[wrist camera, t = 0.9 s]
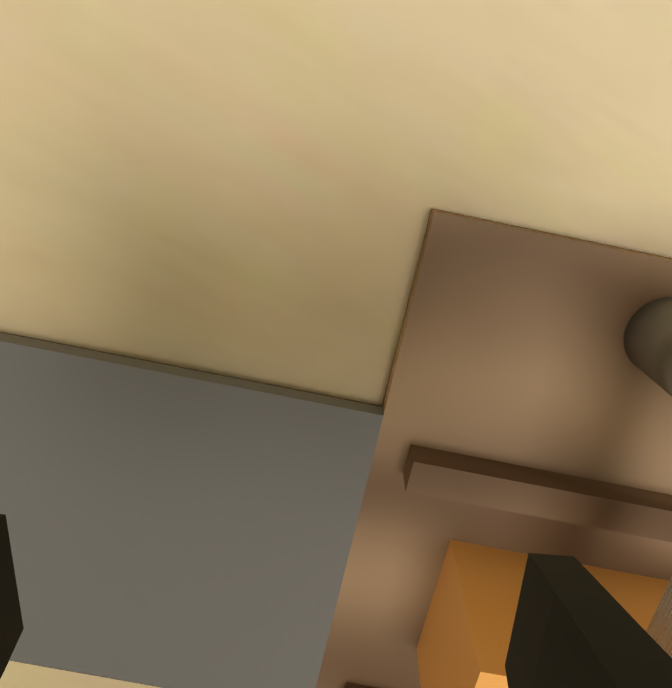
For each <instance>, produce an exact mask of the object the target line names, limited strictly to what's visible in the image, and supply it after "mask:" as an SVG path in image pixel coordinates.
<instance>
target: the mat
mask: <svg viewBox="0 0 672 688" xmlns="http://www.w3.org/2000/svg"><path fill="white" fill-rule="evenodd" d="M382 419H383V407H381V406H375V405H370V404H365V403H360V402H355V401H350V400H345V399H340V398H334V397H329V396H324V395H319V394H314V393H309V392H304V391H299V390H294V389H288V388H283V387H278V386H273V385H268V384H263V383H258V382H253V381H247V380H242V379H237V378H232V377H227V376H222V375H217V374H212V373H206V372H201V371H196V370H191V369H186V368H181V367H176V366H171V365H166V364H160V363H155V362H150V361H145V360H140V359H135V358H130V357H125V356H119V355H114V354H109V353H104V352H99V351H94V350H89V349H84V348H78V347H73V346H68V345H63V344H58V343H53V342H48V341H43V340H37V339H32V338H27V337H22V336H17V335H12V334H7V333H2V332H0V514H6V520H7V526H8V532H9V539H10V545H11V551H12V558H13V564H14V570H15V577H16V583H17V589H18V596H19V602H20V608H21V615H22V621H23V627H24V629H23V631H22V634H21V636H20V638H19V640H18V642H17V644H16V647H15V649H14V651H13V653H12V655H11V657H10V660H9V661H15V662H21V663H26V664H32V665H38V666H43V667H49V668H55V669H60V670H66V671H72V672H77V673H83V674H89V675H94V676H100V677H106V678H111V679H117V680H123V681H128V682H134V683H140V684H145V685H151V686H157V687H162V688H316V684H317V680H318V676H319V672H320V668H321V664H322V660H323V656H324V652H325V648H326V644H327V640H328V636H329V632H330V628H331V624H332V620H333V616H334V612H335V608H336V604H337V600H338V596H339V592H340V588H341V584H342V580H343V576H344V572H345V568H346V564H347V560H348V556H349V552H350V548H351V544H352V540H353V536H354V532H355V528H356V524H357V520H358V516H359V512H360V508H361V504H362V500H363V496H364V492H365V488H366V484H367V480H368V476H369V472H370V468H371V464H372V460H373V456H374V452H375V448H376V444H377V440H378V436H379V432H380V428H381V423H382Z"/></svg>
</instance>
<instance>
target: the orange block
mask: <svg viewBox="0 0 672 688" xmlns="http://www.w3.org/2000/svg"><path fill="white" fill-rule="evenodd" d="M527 558H528V554H525V553H520V552H514V551H509V550H504V549H498V548H493V547H488V546H482V545H477V544H472V543H466V542H461V541H456V540H451V539H450V543H449V546H448V549H447V552H446V555H445V559H444V562H443V565H442V568H441V571H440V575H439V578H438V581H437V584H436V587H435V591H434V594H433V597H432V600H431V603H430V606H429V610H428V613H427V616H426V619H425V622H424V626H423V629H422V632H421V635H420V638H419V642H418V645H417V648H416V650H417V658H418V667H419V676H420V685H421V688H508V683H507V676H506V670H505V662H506V657H507V652H508V648H509V643H510V638H511V633H512V629H513V624H514V619H515V614H516V610H517V605H518V600H519V595H520V591H521V586H522V581H523V576H524V572H525V567H526V562H527ZM582 565H583V564H582ZM583 566H584V567H585V568H586V569H587V570H588V571H589V572H590V573H591V574H592V575H593V576H594V578H595V579H596V580H597V581H598V582H599V583H600V584H601V585H602V586H603V587H604V588H605V589H606V590H607V591H608V592H609V593H610V594H611V595H612V596H613V597H614V599H615V600H616V601H617V602H618V603H619V604H620V605H621V606H622V607H623V608H624V609H625V610H626V611H627V612H628V613H629V614H630V615H631V616H632V617H633V618H634V620H635V621H636V622H637V623H638V624H639V625H640V626H641V627H642V628H643V629H644V630H645V631H646V630H647V628H648V626H649V623H650V621H651V619H652V617H653V615H654V613H655V611H656V609H657V606H658V604H659V602H660V600H661V598H662V596H663V594H664V591H665V589H666V587H667V585H668V583H669V581H668V580H663V579H658V578H652V577H647V576H642V575H636V574H631V573H626V572H620V571H615V570H610V569H605V568H599V567H594V566H589V565H583Z"/></svg>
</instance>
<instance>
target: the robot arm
mask: <svg viewBox="0 0 672 688" xmlns="http://www.w3.org/2000/svg"><path fill="white" fill-rule="evenodd" d="M23 629H24V627H23V621H22V615H21V608H20V602H19V596H18V589H17V583H16V577H15V570H14V564H13V558H12V551H11V545H10V539H9V532H8V526H7V520H6V514H0V678H1V676H2V674H3V672H4V670H5V668H6V666H7V664H8V662H9V660H10V657H11V655H12V653H13V651H14V649H15V647H16V644H17V642H18V640H19V638H20V636H21V634H22V631H23ZM505 670H506V676H507V683H508V688H672V658H671V657H670V656H669V655H668V654H667V653H666V652H665V651H664V650H663V649H662V648H661V647H660V645H659V644H658V643H657V642H656V641H655V640H654V639H653V638H652V637H651V636H650V635H649V634H648V633H647V632H646V631H645V630H644V629H643V628H642V627H641V626H640V625H639V624H638V623H637V622H636V621H635V620H634V618H633V617H632V616H631V615H630V614H629V613H628V612H627V611H626V610H625V609H624V608H623V607H622V606H621V605H620V604H619V603H618V602H617V601H616V600H615V599H614V597H613V596H612V595H611V594H610V593H609V592H608V591H607V590H606V589H605V588H604V587H603V586H602V585H601V584H600V583H599V582H598V581H597V580H596V579H595V578H594V576H593V575H592V574H591V573H590V572H589V571H588V570H587V569H586V568H585V567H584V566H583V565H582V564H581V563H580V562H579V561H578V560H577V559H576V558H575V557H574V556H565V555H551V554H538V553H528V558H527V562H526V567H525V572H524V576H523V581H522V586H521V591H520V595H519V600H518V605H517V610H516V614H515V619H514V624H513V629H512V633H511V638H510V643H509V648H508V652H507V657H506V662H505Z"/></svg>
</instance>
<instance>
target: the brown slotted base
mask: <svg viewBox="0 0 672 688" xmlns="http://www.w3.org/2000/svg"><path fill="white" fill-rule="evenodd" d="M450 539H451V540H456V541H461V542H466V543H472V544H477V545H482V546H488V547H493V548H498V549H504V550H509V551H514V552H520V553H525V554H528V553H538V554H551V555H565V556H574V557H575V558H576V559H577V560H578V561H579V562H580V563H581V564H583V565H589V566H594V567H599V568H605V569H610V570H615V571H620V572H626V573H631V574H636V575H642V576H647V577H652V578H658V579H663V580H668V581H670V579H671V577H672V258H667V257H662V256H657V255H652V254H647V253H643V252H638V251H633V250H628V249H623V248H619V247H614V246H609V245H604V244H599V243H594V242H590V241H585V240H580V239H575V238H570V237H565V236H561V235H556V234H551V233H546V232H541V231H537V230H532V229H527V228H522V227H517V226H512V225H508V224H503V223H498V222H493V221H488V220H484V219H479V218H474V217H469V216H464V215H459V214H455V213H450V212H445V211H440V210H435V209H431V214H430V218H429V222H428V226H427V230H426V234H425V238H424V242H423V246H422V250H421V254H420V258H419V262H418V266H417V270H416V274H415V278H414V282H413V286H412V290H411V294H410V298H409V302H408V306H407V311H406V315H405V319H404V323H403V327H402V331H401V335H400V339H399V343H398V347H397V351H396V355H395V359H394V363H393V367H392V371H391V375H390V379H389V383H388V387H387V391H386V395H385V399H384V403H383V419H382V423H381V428H380V432H379V436H378V440H377V444H376V448H375V452H374V456H373V460H372V464H371V468H370V472H369V476H368V480H367V484H366V488H365V492H364V496H363V500H362V504H361V508H360V512H359V516H358V520H357V524H356V528H355V532H354V536H353V540H352V544H351V548H350V552H349V556H348V560H347V564H346V568H345V572H344V576H343V580H342V584H341V588H340V592H339V596H338V600H337V604H336V608H335V612H334V616H333V620H332V624H331V628H330V632H329V636H328V640H327V644H326V648H325V652H324V656H323V660H322V664H321V668H320V672H319V676H318V680H317V684H316V688H421V685H420V676H419V667H418V658H417V650H416V648H417V645H418V642H419V638H420V635H421V632H422V629H423V626H424V622H425V619H426V616H427V613H428V610H429V606H430V603H431V600H432V597H433V594H434V591H435V587H436V584H437V581H438V578H439V575H440V571H441V568H442V565H443V562H444V559H445V555H446V552H447V549H448V546H449V543H450Z"/></svg>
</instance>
